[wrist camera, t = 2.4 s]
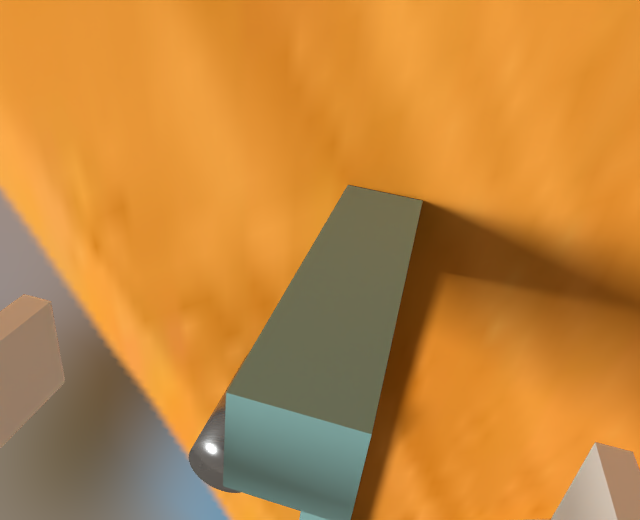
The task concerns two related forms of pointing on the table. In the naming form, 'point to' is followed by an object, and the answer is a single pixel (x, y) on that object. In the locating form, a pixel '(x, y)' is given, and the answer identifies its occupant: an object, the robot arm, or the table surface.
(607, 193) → the table surface
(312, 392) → the teal bent bar
